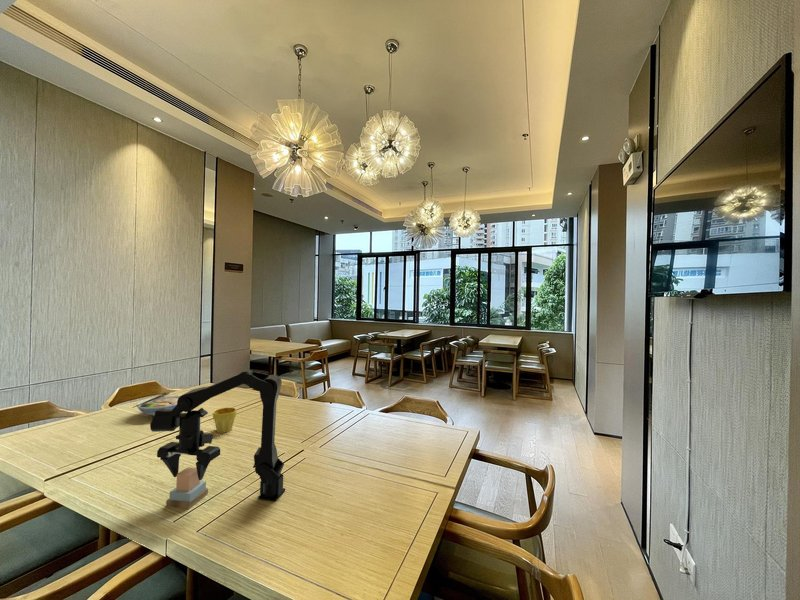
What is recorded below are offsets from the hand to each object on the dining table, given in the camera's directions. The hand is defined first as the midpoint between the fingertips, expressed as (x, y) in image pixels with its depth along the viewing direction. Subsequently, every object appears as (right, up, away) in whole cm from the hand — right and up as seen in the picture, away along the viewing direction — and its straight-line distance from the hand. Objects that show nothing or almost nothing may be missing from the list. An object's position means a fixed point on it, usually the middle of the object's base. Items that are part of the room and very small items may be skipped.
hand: (188, 478), depth 104 cm
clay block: (0, -3, 0) cm, 3 cm away
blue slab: (0, -5, 0) cm, 5 cm away
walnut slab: (0, -8, 0) cm, 8 cm away
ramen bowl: (-64, -6, +75) cm, 99 cm away
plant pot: (-19, -7, +56) cm, 59 cm away
